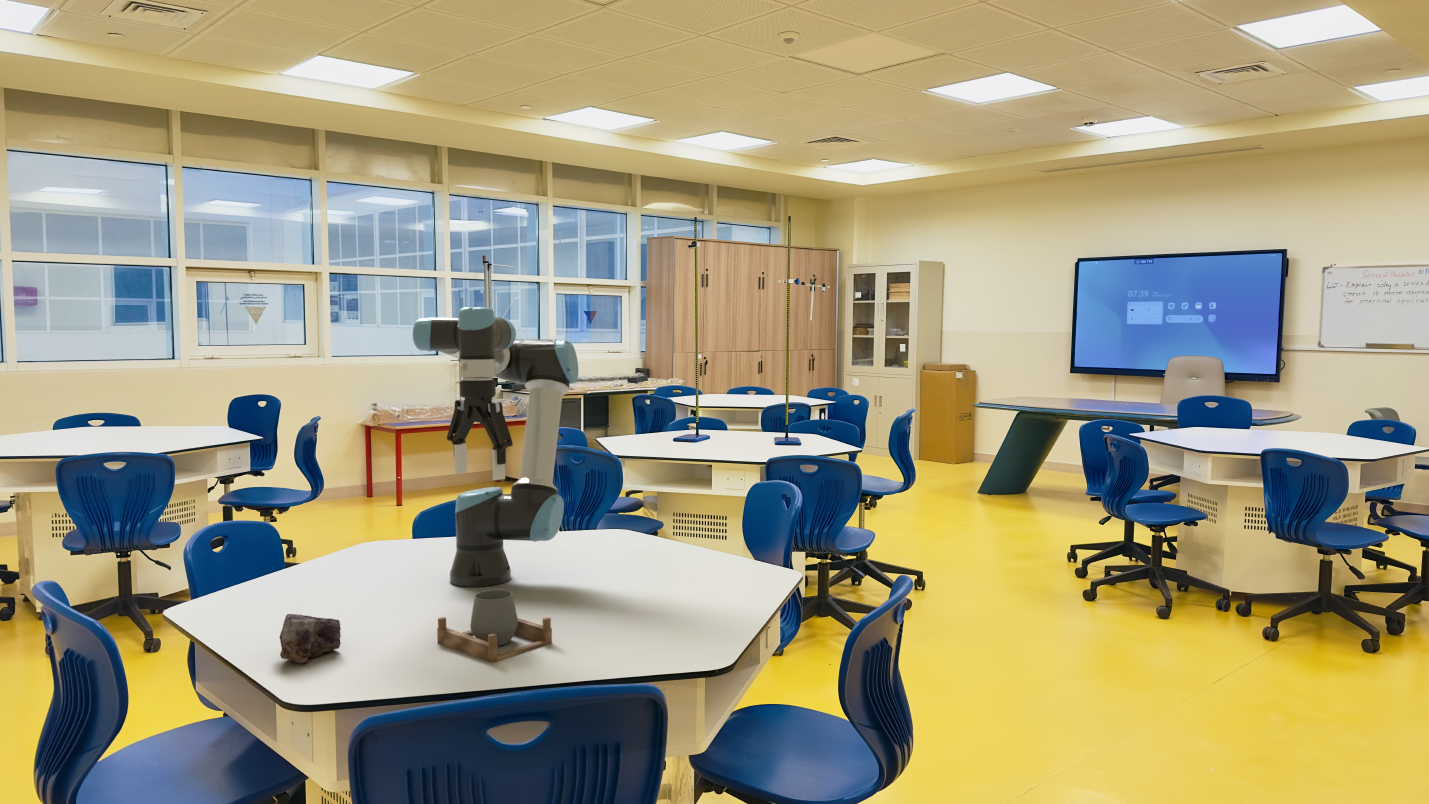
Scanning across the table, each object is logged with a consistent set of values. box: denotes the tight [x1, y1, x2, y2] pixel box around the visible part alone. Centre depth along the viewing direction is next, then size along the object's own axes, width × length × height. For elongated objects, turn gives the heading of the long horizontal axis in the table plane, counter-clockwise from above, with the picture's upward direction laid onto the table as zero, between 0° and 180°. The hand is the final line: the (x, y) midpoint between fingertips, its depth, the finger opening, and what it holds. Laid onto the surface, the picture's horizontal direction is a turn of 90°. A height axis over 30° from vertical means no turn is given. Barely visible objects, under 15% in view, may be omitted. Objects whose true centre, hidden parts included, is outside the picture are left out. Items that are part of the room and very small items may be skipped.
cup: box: [469, 589, 519, 647], centre depth 189 cm, size 10×9×10 cm
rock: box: [279, 613, 342, 664], centre depth 181 cm, size 12×9×10 cm
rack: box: [436, 616, 553, 663], centre depth 189 cm, size 18×15×5 cm
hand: (479, 476), depth 202 cm, fingers open, 13 cm apart
